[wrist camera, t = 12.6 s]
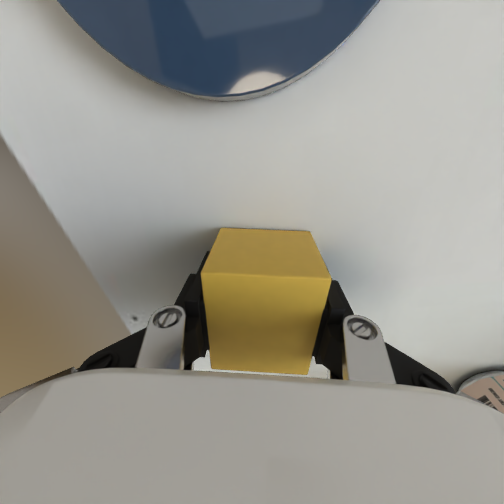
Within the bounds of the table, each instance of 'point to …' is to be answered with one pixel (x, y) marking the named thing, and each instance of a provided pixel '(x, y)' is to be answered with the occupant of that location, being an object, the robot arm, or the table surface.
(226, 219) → the table surface
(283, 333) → the butter pat
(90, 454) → the robot arm
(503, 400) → the supplement bottle
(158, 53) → the plate
